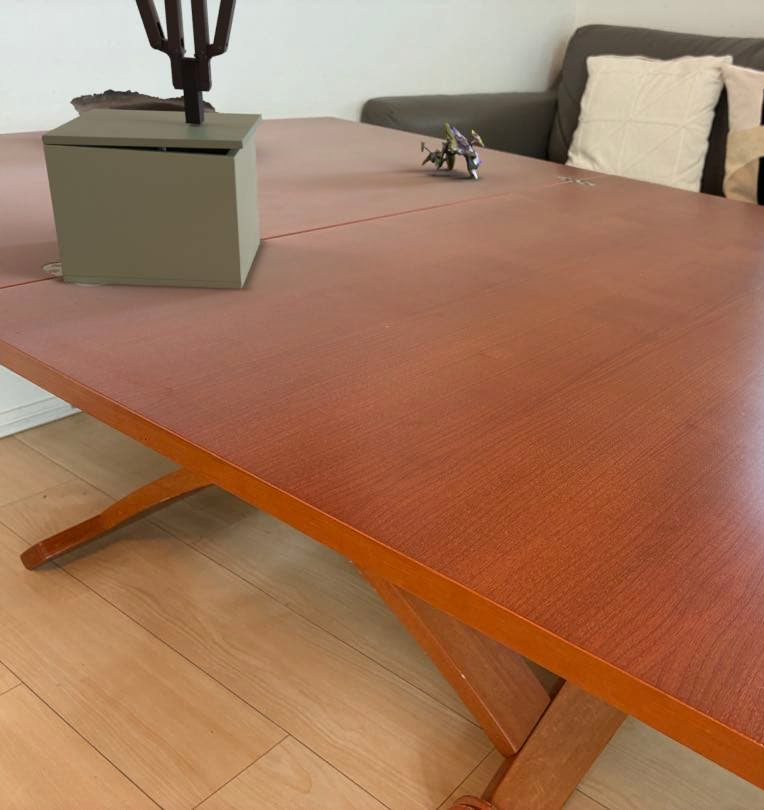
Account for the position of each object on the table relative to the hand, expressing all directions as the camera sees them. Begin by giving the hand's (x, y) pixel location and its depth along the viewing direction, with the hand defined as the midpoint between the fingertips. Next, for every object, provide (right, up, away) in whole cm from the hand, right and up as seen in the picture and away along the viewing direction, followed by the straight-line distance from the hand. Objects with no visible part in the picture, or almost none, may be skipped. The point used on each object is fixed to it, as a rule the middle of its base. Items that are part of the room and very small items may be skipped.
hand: (195, 121), depth 94 cm
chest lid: (-3, -1, 0) cm, 4 cm away
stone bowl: (-30, +14, +59) cm, 67 cm away
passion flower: (+22, +11, +65) cm, 69 cm away
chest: (-5, -15, +6) cm, 17 cm away
